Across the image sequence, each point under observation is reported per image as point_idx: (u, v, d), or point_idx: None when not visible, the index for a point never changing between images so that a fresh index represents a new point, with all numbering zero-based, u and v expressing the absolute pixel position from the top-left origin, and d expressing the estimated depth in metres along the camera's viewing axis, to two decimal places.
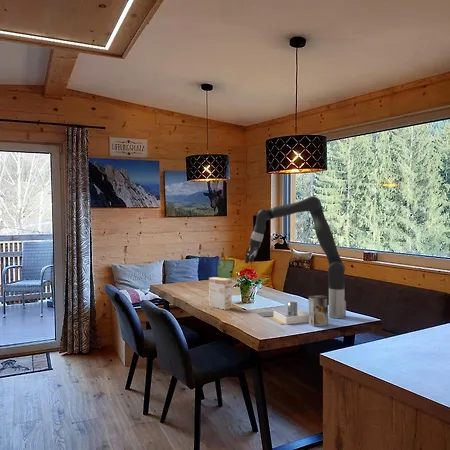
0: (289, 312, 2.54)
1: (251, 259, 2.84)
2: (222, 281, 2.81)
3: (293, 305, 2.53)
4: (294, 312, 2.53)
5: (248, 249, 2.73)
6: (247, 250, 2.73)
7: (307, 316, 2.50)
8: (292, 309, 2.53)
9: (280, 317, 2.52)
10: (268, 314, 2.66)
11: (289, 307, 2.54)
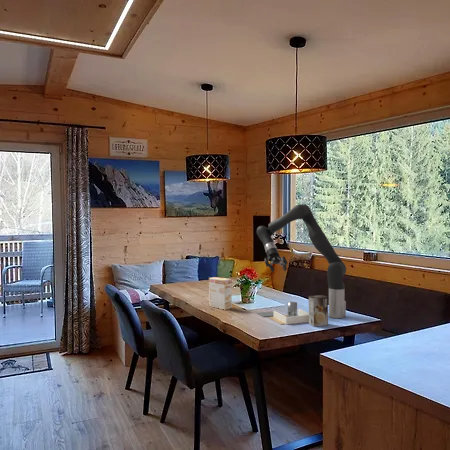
0: (289, 312, 2.54)
1: (284, 267, 2.73)
2: (222, 281, 2.81)
3: (293, 305, 2.53)
4: (294, 312, 2.53)
5: (264, 260, 2.75)
6: None
7: (307, 316, 2.50)
8: (292, 309, 2.53)
9: (280, 317, 2.52)
10: (268, 314, 2.66)
11: (289, 307, 2.54)
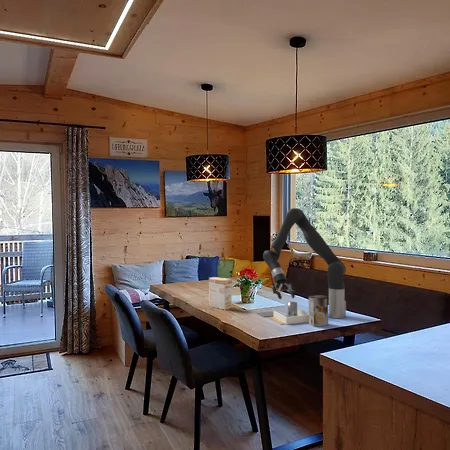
0: (289, 312, 2.54)
1: (292, 294, 2.64)
2: (222, 281, 2.81)
3: (293, 305, 2.53)
4: (294, 312, 2.53)
5: (271, 286, 2.66)
6: (272, 288, 2.66)
7: (307, 316, 2.50)
8: (292, 309, 2.53)
9: (280, 317, 2.52)
10: (268, 314, 2.66)
11: (289, 307, 2.54)
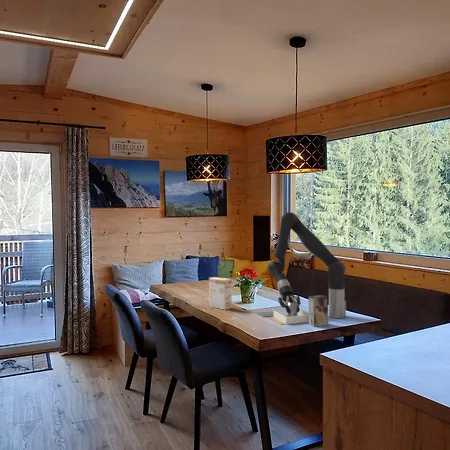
0: None
1: (297, 308, 2.56)
2: (222, 281, 2.81)
3: (293, 305, 2.53)
4: (294, 312, 2.53)
5: (278, 300, 2.58)
6: None
7: (307, 316, 2.50)
8: (292, 309, 2.53)
9: (280, 317, 2.52)
10: (268, 314, 2.66)
11: (289, 307, 2.54)
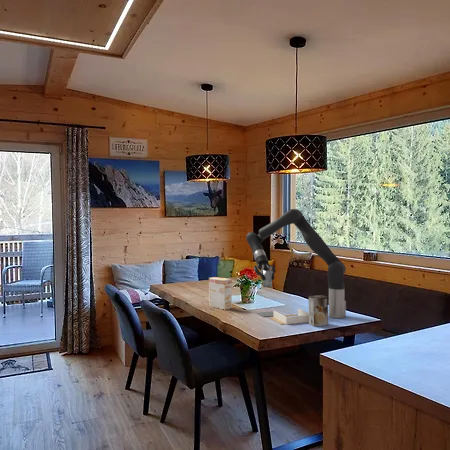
0: None
1: None
2: (222, 281, 2.81)
3: (268, 273, 2.64)
4: (269, 279, 2.64)
5: (254, 269, 2.69)
6: None
7: (307, 316, 2.50)
8: (267, 276, 2.64)
9: (280, 317, 2.52)
10: (268, 314, 2.66)
11: (264, 275, 2.65)
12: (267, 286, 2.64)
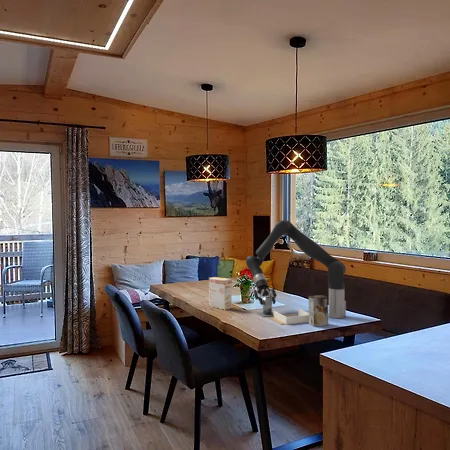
0: (264, 307, 2.66)
1: (272, 300, 2.68)
2: (222, 281, 2.81)
3: (268, 300, 2.65)
4: (269, 306, 2.65)
5: (253, 292, 2.70)
6: None
7: (307, 316, 2.50)
8: (267, 304, 2.65)
9: (280, 317, 2.52)
10: None
11: (264, 302, 2.66)
12: (267, 313, 2.65)
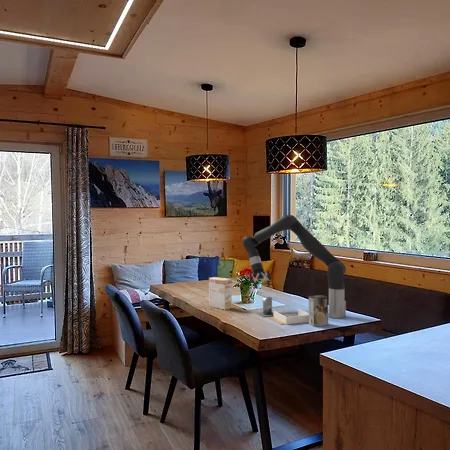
0: (264, 307, 2.66)
1: (267, 283, 2.81)
2: (222, 281, 2.81)
3: (268, 300, 2.65)
4: (269, 307, 2.65)
5: (249, 275, 2.81)
6: (249, 277, 2.81)
7: (307, 316, 2.50)
8: (267, 304, 2.65)
9: (280, 317, 2.52)
10: None
11: (264, 302, 2.66)
12: (267, 313, 2.65)
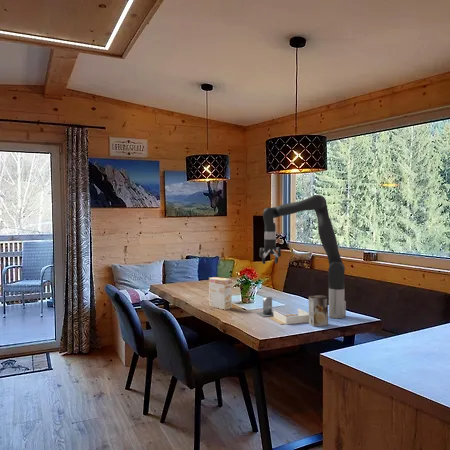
0: (264, 307, 2.66)
1: (275, 260, 2.80)
2: (222, 281, 2.81)
3: (268, 300, 2.65)
4: (269, 307, 2.65)
5: None
6: None
7: (307, 316, 2.50)
8: (267, 304, 2.65)
9: (280, 317, 2.52)
10: None
11: (264, 302, 2.66)
12: (267, 313, 2.65)
